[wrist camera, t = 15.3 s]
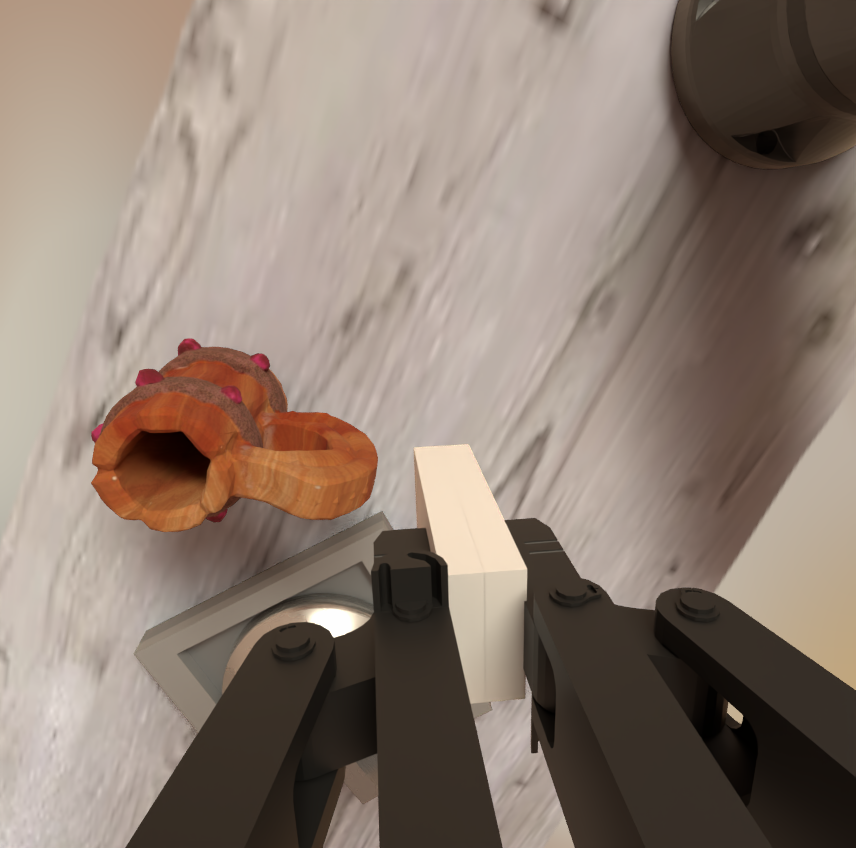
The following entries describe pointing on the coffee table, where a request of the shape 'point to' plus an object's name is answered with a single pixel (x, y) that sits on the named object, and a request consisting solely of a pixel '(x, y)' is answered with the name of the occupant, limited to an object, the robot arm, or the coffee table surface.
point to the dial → (339, 619)
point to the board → (234, 608)
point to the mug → (224, 446)
